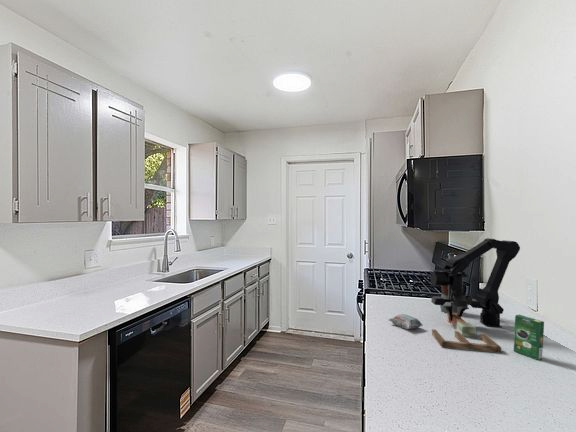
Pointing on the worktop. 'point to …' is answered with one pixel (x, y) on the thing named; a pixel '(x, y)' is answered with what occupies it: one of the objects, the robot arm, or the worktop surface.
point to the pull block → (462, 326)
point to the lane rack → (467, 343)
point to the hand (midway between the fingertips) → (454, 321)
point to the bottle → (445, 293)
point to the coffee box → (528, 336)
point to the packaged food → (406, 321)
